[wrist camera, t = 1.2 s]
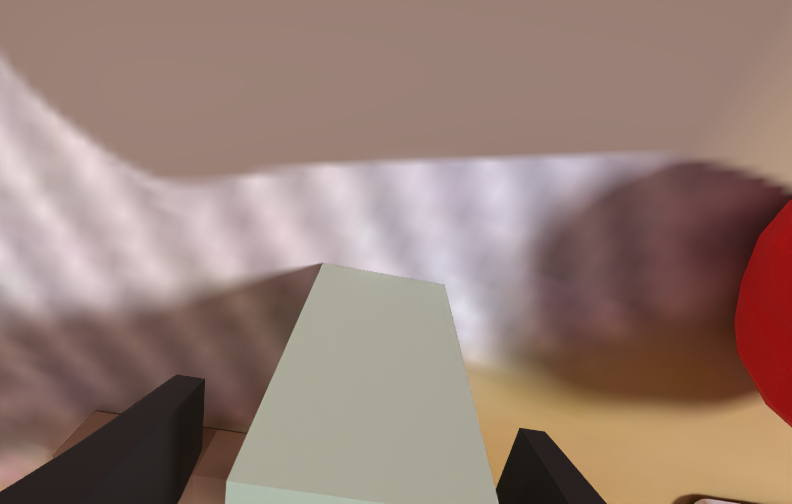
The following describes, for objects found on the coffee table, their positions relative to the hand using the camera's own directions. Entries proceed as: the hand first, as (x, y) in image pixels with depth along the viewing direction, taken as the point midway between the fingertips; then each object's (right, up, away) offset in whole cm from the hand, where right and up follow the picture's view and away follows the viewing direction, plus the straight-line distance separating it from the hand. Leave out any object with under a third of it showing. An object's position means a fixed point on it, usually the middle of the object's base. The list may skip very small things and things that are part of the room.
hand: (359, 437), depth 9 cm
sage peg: (0, +2, +5) cm, 5 cm away
